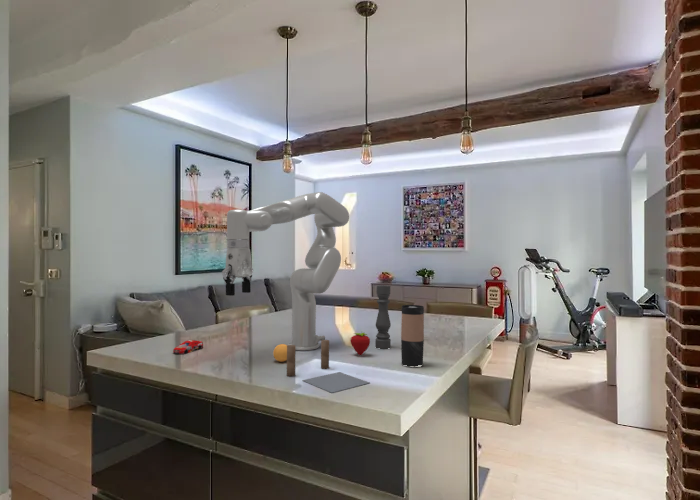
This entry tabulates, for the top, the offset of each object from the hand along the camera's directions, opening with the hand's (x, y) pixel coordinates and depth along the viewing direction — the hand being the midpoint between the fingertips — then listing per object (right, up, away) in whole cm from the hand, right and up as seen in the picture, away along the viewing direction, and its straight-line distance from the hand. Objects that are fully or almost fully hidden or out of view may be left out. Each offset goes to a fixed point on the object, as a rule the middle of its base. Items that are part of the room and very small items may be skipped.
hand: (238, 293), depth 145 cm
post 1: (+21, -23, -18) cm, 36 cm away
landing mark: (+35, -23, -24) cm, 49 cm away
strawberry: (+43, -24, +9) cm, 50 cm away
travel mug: (+60, -24, -4) cm, 65 cm away
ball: (+15, -20, -2) cm, 26 cm away
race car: (-23, -24, +13) cm, 35 cm away
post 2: (+31, -23, -10) cm, 40 cm away
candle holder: (+52, -24, +22) cm, 62 cm away
